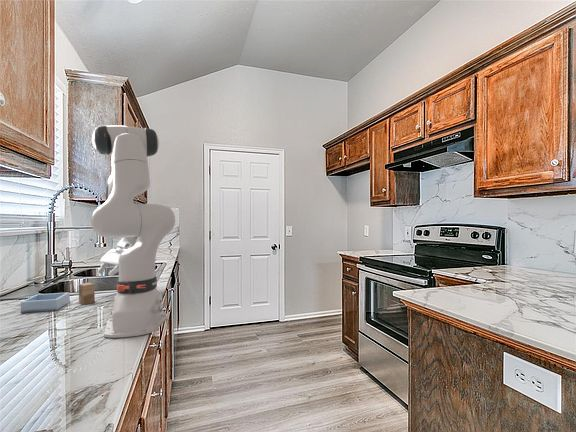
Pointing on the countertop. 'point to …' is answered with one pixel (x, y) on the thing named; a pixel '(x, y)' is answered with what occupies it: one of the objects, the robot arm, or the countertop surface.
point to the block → (86, 293)
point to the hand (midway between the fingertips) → (104, 274)
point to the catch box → (45, 302)
